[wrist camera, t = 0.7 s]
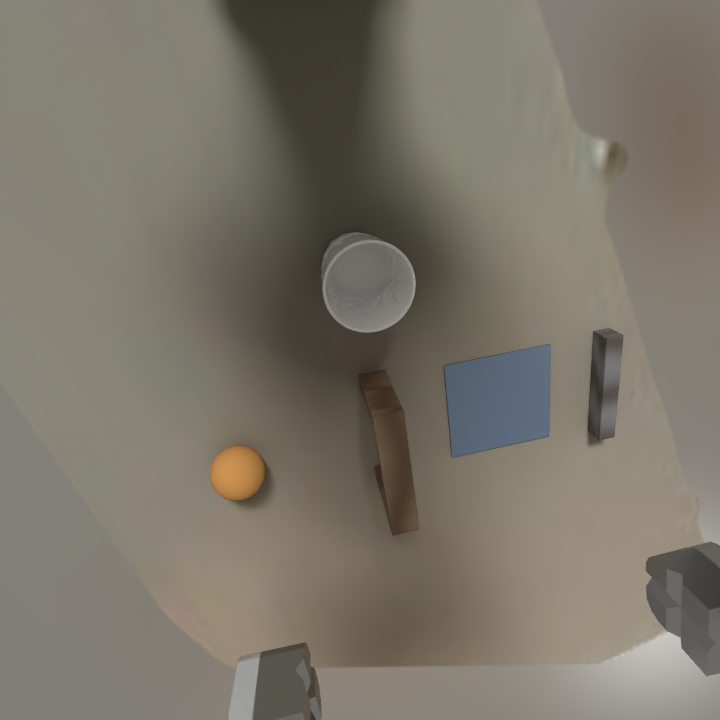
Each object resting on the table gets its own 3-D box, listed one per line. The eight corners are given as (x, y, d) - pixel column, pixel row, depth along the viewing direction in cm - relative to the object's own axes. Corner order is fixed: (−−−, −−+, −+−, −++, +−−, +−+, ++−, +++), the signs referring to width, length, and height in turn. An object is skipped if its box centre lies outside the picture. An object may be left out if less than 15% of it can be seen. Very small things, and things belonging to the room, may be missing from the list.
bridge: (376, 479, 58) (392, 535, 49) (358, 375, 52) (372, 417, 43) (399, 474, 58) (419, 529, 50) (384, 369, 52) (403, 411, 44)
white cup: (322, 307, 49) (330, 339, 39) (309, 231, 45) (315, 248, 36) (395, 295, 49) (419, 324, 40) (387, 219, 46) (411, 232, 37)
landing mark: (443, 365, 53) (444, 366, 53) (549, 344, 54) (550, 344, 54) (451, 456, 59) (452, 457, 58) (548, 435, 59) (548, 436, 59)
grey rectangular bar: (593, 331, 54) (606, 338, 52) (609, 328, 54) (623, 335, 52) (587, 429, 60) (599, 440, 58) (601, 426, 60) (614, 437, 58)
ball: (207, 441, 53) (198, 473, 47) (259, 430, 53) (256, 461, 48) (222, 482, 55) (214, 517, 50) (271, 472, 56) (269, 505, 50)
